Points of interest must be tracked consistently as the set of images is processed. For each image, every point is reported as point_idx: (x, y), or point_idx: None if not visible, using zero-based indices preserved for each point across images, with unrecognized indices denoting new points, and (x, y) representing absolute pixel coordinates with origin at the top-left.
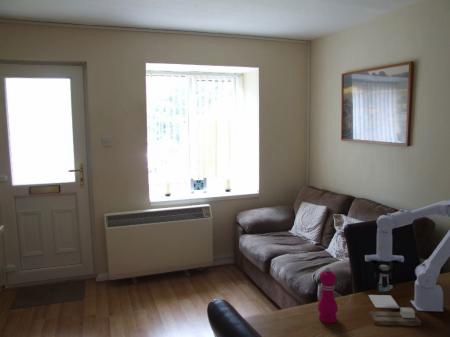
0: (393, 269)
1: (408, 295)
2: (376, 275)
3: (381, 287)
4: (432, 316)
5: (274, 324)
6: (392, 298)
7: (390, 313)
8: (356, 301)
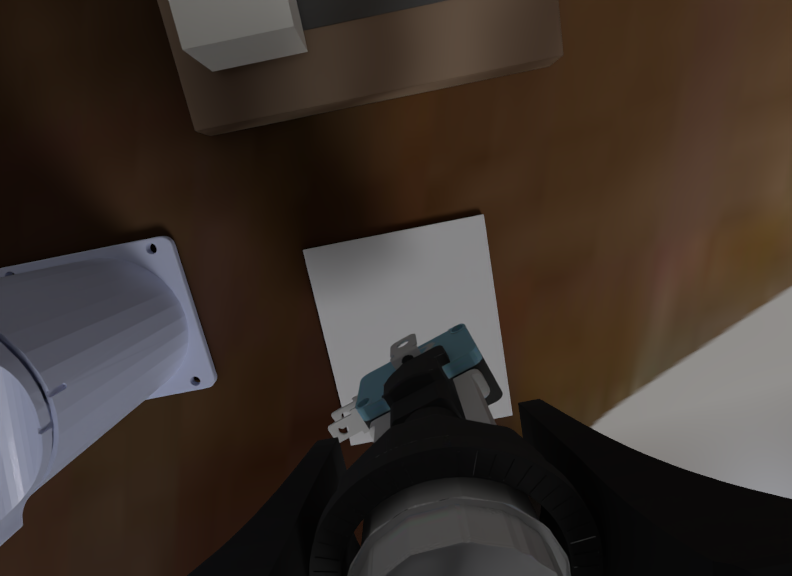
0: (266, 550)
1: (225, 483)
2: (569, 418)
3: (453, 347)
4: (72, 172)
5: None
6: (341, 398)
7: (388, 55)
8: (612, 292)
